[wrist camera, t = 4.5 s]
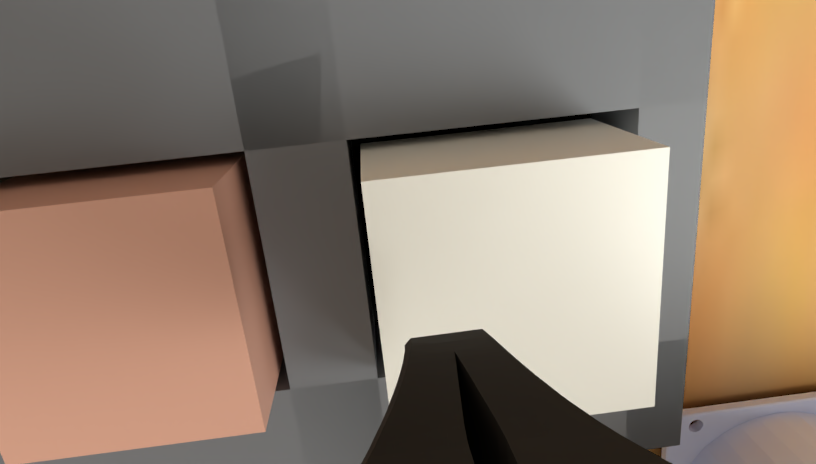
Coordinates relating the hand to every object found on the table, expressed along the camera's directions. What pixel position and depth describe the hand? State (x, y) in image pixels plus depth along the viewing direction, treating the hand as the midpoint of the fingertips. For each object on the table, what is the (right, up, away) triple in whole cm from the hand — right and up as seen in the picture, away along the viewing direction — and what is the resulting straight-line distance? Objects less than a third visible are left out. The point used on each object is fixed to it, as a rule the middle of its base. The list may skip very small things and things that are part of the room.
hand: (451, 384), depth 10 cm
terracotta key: (-8, +2, +6) cm, 10 cm away
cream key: (+1, +2, +6) cm, 7 cm away
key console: (-3, +2, +8) cm, 9 cm away
